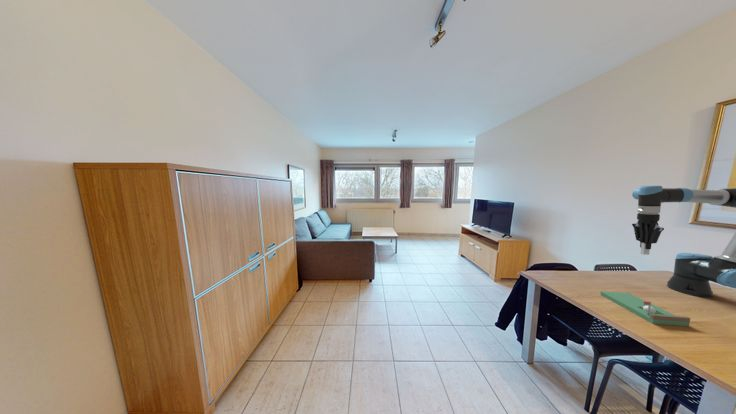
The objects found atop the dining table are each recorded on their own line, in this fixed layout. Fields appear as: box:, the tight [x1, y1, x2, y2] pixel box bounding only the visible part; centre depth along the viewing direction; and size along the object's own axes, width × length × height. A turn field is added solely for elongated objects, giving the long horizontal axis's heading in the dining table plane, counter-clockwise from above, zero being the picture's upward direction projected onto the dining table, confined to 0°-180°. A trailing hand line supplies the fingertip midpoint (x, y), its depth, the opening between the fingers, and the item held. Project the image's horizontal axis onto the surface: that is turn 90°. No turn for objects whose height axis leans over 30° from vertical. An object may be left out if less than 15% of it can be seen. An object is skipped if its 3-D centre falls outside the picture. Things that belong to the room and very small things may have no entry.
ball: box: [643, 306, 656, 314], centre depth 104 cm, size 4×4×4 cm
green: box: [599, 290, 691, 327], centre depth 109 cm, size 15×26×9 cm, turn 171°
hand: (644, 254), depth 118 cm, fingers closed
